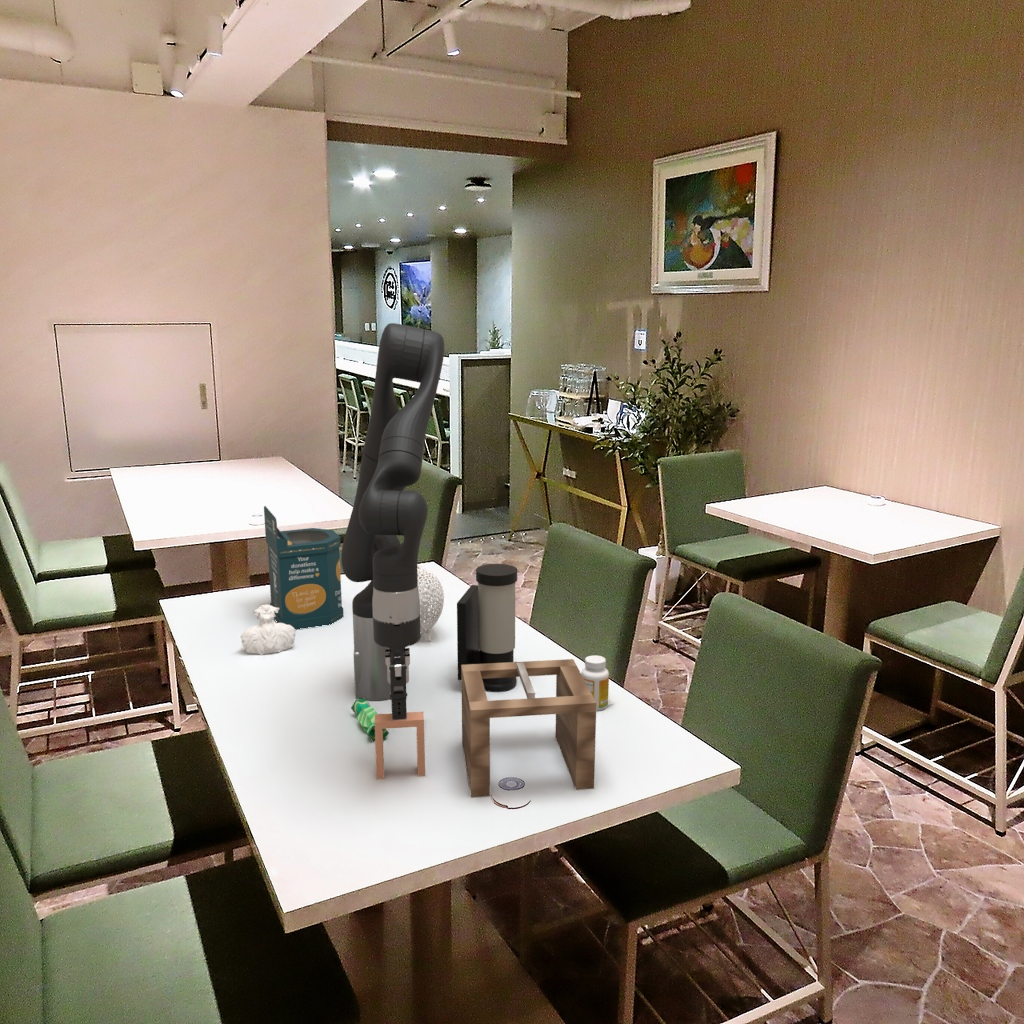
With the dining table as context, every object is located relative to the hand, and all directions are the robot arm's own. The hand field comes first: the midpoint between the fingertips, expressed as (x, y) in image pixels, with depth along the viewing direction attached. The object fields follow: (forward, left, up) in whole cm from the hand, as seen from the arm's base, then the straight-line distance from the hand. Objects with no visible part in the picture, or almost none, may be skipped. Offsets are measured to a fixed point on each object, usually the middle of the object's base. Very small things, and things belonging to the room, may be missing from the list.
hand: (399, 708), depth 144 cm
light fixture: (+19, +34, -12) cm, 41 cm away
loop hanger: (0, 0, -12) cm, 12 cm away
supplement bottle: (+38, +21, -12) cm, 45 cm away
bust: (-29, +59, -12) cm, 67 cm away
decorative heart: (+5, +63, -12) cm, 64 cm away
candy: (-6, +17, -12) cm, 22 cm away
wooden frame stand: (+21, 0, -12) cm, 24 cm away
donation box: (-22, +80, -12) cm, 84 cm away
